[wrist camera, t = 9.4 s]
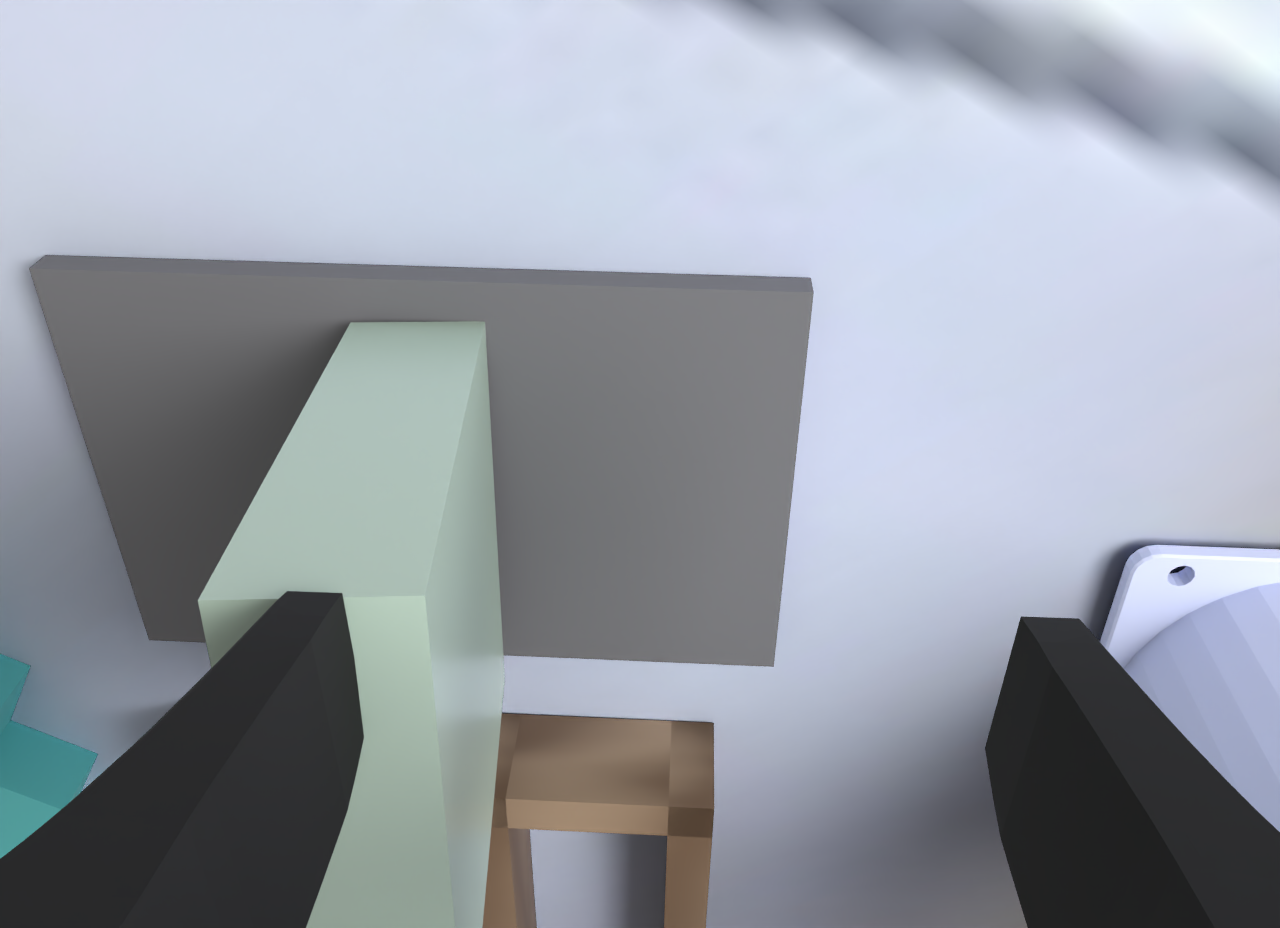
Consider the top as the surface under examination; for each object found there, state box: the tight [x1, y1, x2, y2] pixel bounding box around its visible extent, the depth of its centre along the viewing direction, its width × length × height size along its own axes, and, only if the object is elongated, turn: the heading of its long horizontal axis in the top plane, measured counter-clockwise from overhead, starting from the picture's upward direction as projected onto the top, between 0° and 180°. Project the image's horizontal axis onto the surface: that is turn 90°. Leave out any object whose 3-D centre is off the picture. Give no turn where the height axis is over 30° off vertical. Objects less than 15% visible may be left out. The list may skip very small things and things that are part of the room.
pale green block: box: [198, 321, 505, 928], centre depth 18 cm, size 2×8×9 cm, turn 179°
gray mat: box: [29, 255, 813, 667], centre depth 22 cm, size 14×9×1 cm, turn 89°
